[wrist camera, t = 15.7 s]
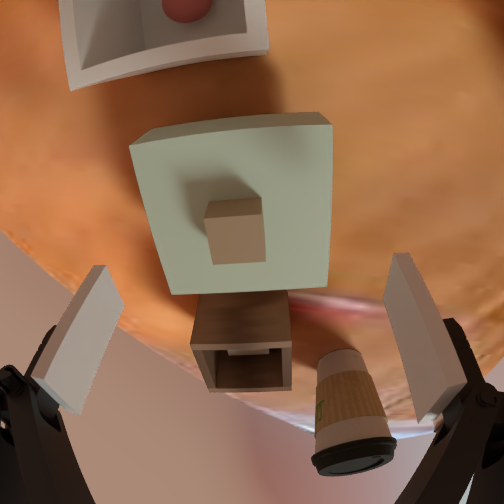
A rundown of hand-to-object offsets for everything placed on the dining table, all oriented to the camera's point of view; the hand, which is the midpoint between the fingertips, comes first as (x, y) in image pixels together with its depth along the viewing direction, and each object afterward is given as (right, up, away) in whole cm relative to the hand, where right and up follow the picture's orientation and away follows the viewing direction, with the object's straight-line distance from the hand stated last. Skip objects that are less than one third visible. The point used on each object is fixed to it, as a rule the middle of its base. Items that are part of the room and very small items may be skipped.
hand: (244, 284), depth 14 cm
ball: (-4, +18, +2) cm, 18 cm away
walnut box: (0, -4, +18) cm, 19 cm away
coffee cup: (+12, -13, +25) cm, 30 cm away
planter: (-4, +18, +2) cm, 19 cm away
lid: (0, +5, +8) cm, 10 cm away
